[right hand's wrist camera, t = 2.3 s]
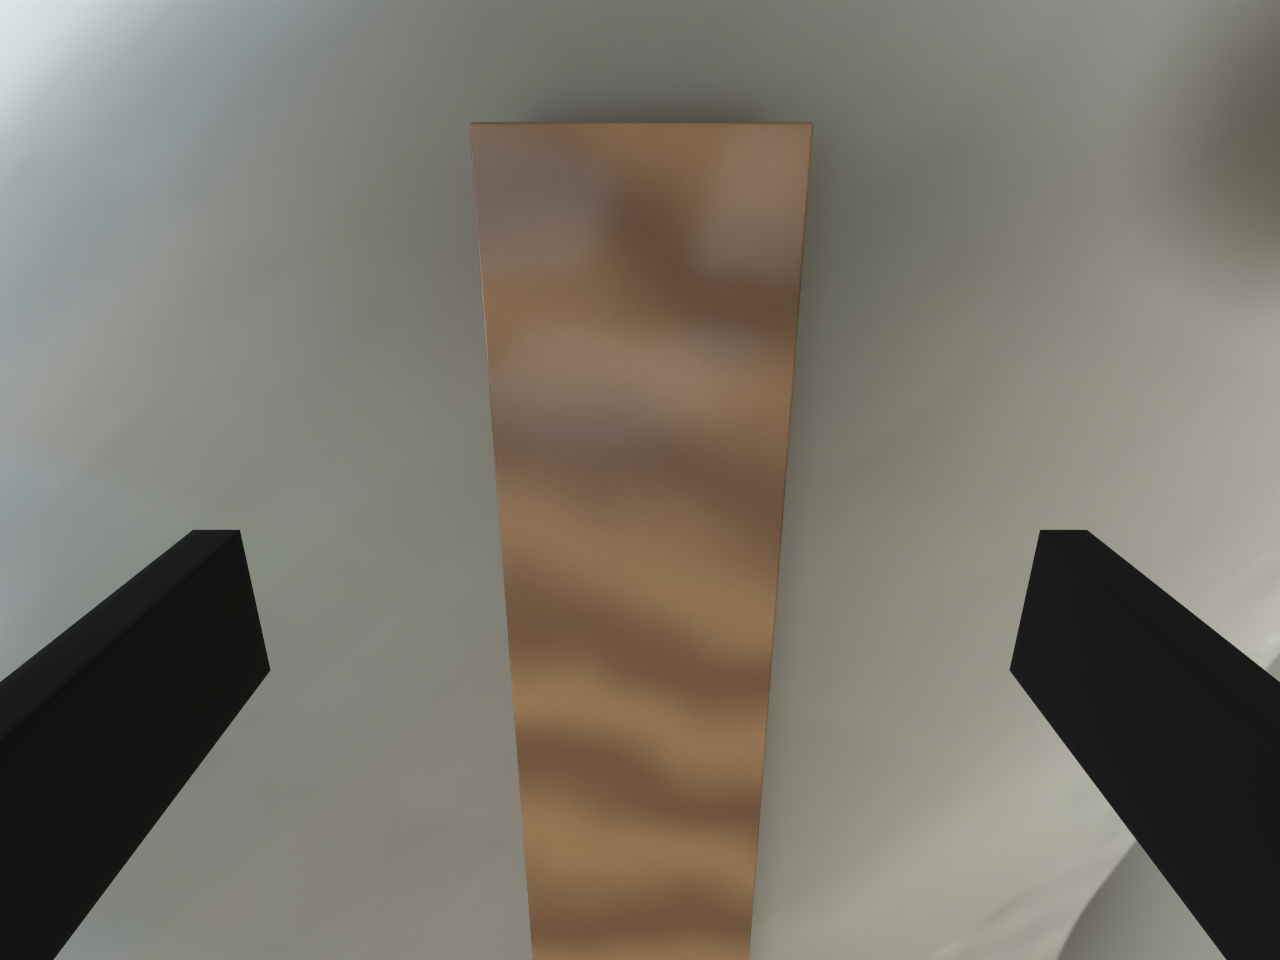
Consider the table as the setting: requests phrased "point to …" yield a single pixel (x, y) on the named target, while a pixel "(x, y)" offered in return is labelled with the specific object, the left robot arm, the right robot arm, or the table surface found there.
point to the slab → (640, 508)
